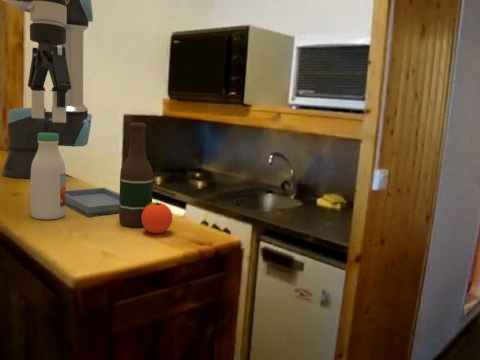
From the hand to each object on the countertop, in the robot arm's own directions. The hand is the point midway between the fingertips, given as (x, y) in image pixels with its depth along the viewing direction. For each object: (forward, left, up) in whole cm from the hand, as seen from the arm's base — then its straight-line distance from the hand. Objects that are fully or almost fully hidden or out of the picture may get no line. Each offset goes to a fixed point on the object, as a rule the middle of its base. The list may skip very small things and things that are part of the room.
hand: (48, 120), depth 104 cm
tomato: (+14, +24, -23) cm, 36 cm away
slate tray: (-11, +11, -23) cm, 28 cm away
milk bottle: (0, 0, -23) cm, 23 cm away
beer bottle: (+7, +20, -23) cm, 31 cm away
